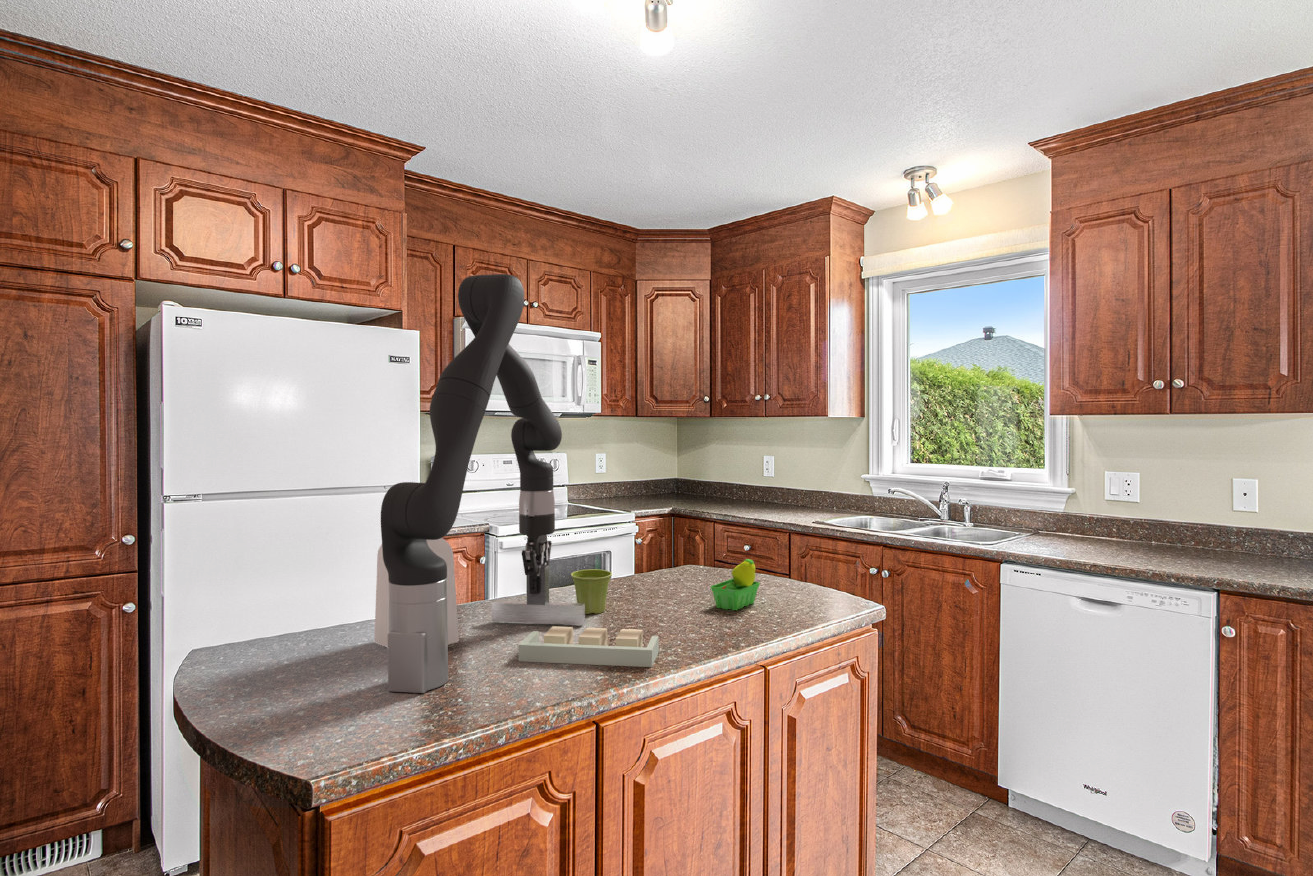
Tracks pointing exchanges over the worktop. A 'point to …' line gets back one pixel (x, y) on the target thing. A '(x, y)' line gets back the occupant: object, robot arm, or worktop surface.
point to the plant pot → (592, 589)
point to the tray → (587, 653)
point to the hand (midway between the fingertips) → (537, 591)
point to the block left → (559, 635)
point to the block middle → (593, 637)
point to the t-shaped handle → (539, 607)
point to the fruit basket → (737, 588)
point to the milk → (382, 594)
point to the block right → (630, 638)
